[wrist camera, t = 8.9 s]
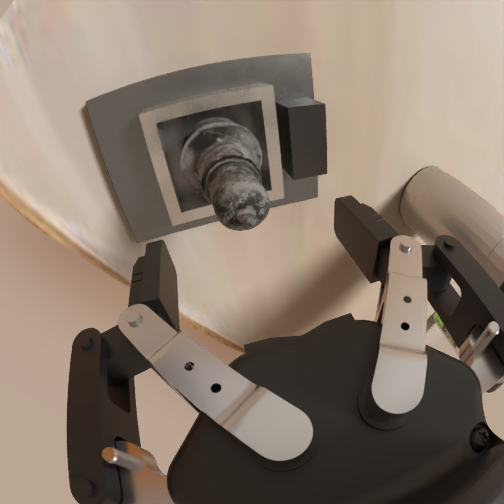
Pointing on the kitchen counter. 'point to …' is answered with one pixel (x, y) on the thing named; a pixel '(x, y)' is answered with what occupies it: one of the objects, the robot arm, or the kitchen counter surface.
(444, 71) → the kitchen counter surface
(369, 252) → the robot arm
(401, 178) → the kitchen counter surface
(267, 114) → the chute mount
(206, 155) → the grey chess piece
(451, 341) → the syrup box
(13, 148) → the kitchen counter surface
